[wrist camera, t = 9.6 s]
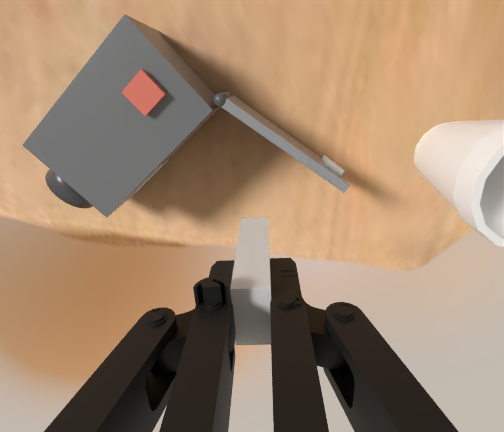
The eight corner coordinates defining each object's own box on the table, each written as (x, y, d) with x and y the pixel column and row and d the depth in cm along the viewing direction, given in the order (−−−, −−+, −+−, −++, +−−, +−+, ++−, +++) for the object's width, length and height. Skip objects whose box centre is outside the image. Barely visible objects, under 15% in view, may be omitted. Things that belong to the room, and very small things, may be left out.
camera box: (158, 30, 31) (121, 12, 23) (224, 104, 33) (212, 111, 25) (59, 149, 35) (0, 168, 27) (123, 206, 38) (86, 238, 30)
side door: (221, 97, 32) (211, 101, 26) (229, 84, 32) (220, 85, 25) (328, 173, 35) (343, 193, 29) (337, 162, 35) (354, 180, 28)
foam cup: (381, 160, 35) (443, 201, 23) (448, 86, 32) (561, 88, 20) (441, 209, 37) (527, 270, 25) (510, 143, 34) (647, 177, 22)
